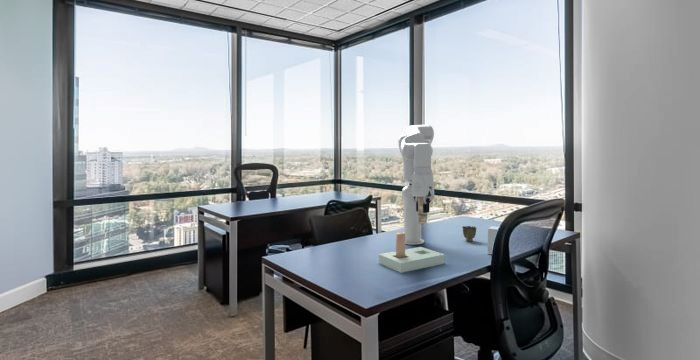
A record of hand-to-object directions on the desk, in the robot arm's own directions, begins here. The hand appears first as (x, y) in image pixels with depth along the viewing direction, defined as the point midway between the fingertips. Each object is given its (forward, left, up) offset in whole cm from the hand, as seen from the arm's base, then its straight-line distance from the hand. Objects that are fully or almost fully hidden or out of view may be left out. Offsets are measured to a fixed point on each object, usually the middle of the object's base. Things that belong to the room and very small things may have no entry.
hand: (422, 211), depth 168 cm
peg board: (0, -6, -23) cm, 24 cm away
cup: (-18, +49, -24) cm, 57 cm away
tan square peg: (0, -12, -22) cm, 26 cm away
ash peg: (0, 0, -5) cm, 5 cm away
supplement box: (+7, +41, -24) cm, 48 cm away
